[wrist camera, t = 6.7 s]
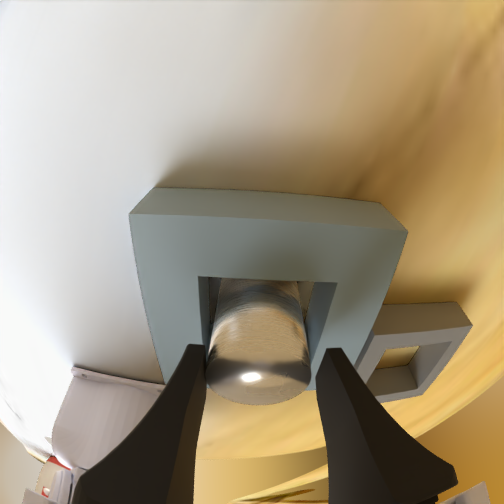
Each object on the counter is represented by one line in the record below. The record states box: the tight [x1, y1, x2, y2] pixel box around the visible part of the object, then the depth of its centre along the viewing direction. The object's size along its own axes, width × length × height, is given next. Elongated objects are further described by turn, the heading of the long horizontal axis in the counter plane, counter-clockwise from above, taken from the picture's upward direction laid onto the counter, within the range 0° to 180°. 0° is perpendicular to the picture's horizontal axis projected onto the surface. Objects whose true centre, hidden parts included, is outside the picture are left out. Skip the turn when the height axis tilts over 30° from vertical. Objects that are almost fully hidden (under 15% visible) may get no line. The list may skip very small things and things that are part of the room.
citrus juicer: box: [35, 457, 71, 498], centre depth 42 cm, size 16×17×20 cm
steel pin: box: [205, 278, 312, 405], centre depth 13 cm, size 4×4×6 cm
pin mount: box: [354, 302, 473, 403], centre depth 17 cm, size 8×8×2 cm
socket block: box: [129, 188, 408, 390], centre depth 14 cm, size 10×10×3 cm
